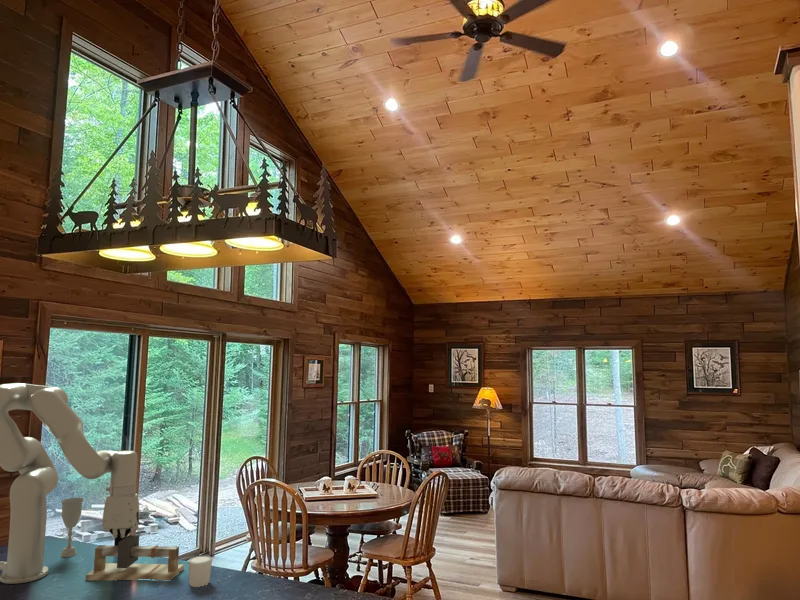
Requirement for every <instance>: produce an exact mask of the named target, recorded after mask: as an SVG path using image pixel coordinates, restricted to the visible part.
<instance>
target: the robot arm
mask: <svg viewBox="0 0 800 600" xmlns="http://www.w3.org/2000/svg"><path fill="white" fill-rule="evenodd" d="M68 401H69V397H68V394H67V392H66V391H65V390H64V389H63V388H60V387H57V386H50V385H41V384H31V383H22V382H21V383H20V382H12V383H2V384H1V383H0V467H1V469H3V470H4V471H6V472H17V471H18V473H19V474H20V475H18V477H16V478H15V480H14V481H13V482H12V484H11V486H10V490H9V503H10V504H9V505H10V506H9V507H10V518H9V519H10V520H9V531H8V544H7V545H8V547H7V558H6V559H7V560H6V561H0V571H1V572H2V573H1V574H0V582H1V583H2V584H8V585H9V584H10V585H15V584H24V583H29V582H33V581H36V580H37V581H38V580H40V579H43V578H44V577H45V576H47V575H48V573H49V567H48V566H46V565H44V560H45V559H44V558H45V545H46V544H45V543H46V529H47V516H48V515H47V513H48V509H47V496H48V494H49V495H50V493H51V492H53V491H54V490H55V489H56V487H57V485H58V483H59V474H58V472H57V469H56V467H55V465H54V463H53V462H52V459H51V458H50V456H49V455H48V453H47V450H46V449H45V447H44V445H43V444H42V443H41V442H40V441H39V440H38V439H36V438H34V437H31V436H24V435H23V434H22V432H21V431H20V429H19V427H18V425H17V424H16V422H15V421H14V419H12V417H11V416H10V414H9V411H13V410H24V411H32V413H34V415H35V416H36V417H37V418H38V419H39V421H41V422H42V424H43V425H44V426H45V427H46V428H47V430H49V432H50V433H51V434H52V436H54V437H55V439H56V440H57V443H58V445H59V446H58V447H60V449H61V452H62V453H63V455H64V457H65V459H66V460H67V461H68V462H69V463H70V465H71V466H72V467H73V468H74V469H75V471H77V473H79V475H80V476H82V477H83V478H85V479H86V480H96V479H99V478H101V477H102V476H104V475H106V474H108V473H110V485H109V486H106V488H105V491H106V492H109V495H107V496H106V499H105V502H104V506H103V513H102V524H101V525H102V528H103V531H105V532H109V533H110V534H111V535H112V537H113V538H114V546H118V542H120V541H121V540H123V539H124V538H126V537H127V536H129V535H130V533H131V532H135V531H138V530H139V523H140V502H139V501H140V500H139V495H138V493H136V492H137V473H138V472H137V471H138V453H137V452H136V451H134V450H120V451H116V450H104V449H101V450H97V451H96V450H95V449H94V448H93V447H92V445H91V444H90V443H89V441H88V440H87V439H86V435H85V433H84V425H83V421H82V419H81V418H80V417H79V415H77V414H76V412H74V410H73V409H72V408H71V407H70V405H69V404H68Z"/></svg>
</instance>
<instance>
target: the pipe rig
mask: <svg viewBox="0 0 800 600" xmlns="http://www.w3.org/2000/svg"><path fill="white" fill-rule="evenodd" d="M179 551H180V546H177V545H176V546H175V545H172V546H163V545H161V546H160V545H154V546H152V545H139V546H132V547H131V555H130V557H138V558H140V557H142V558H143V557H144V558H145V557H148V558H151V559H155V558H167V559H168V560H167V561H168V562H167V564H166V563H133V564H132V565H130V566H129V567H128V568H117V562H116V563H114V562H113V563H110V562H109V563H108V562H106V559H107V557H118V546H115V545H106V544H103V545H102V544H100V545H97V546H96V547H95V549H94V558H93V559H94V560H93V562H94V563H93V570H91V571H90V572H88V573H87V574H85V581H113V580H114V582H115V581H117V580H138V579H151V580H152V579H155V580H172V579H173V578H174V577H175V576H176V575H177V574H178V573H179V572H180V571H181V572H183V570H184V569H185V568H184V567H185V565H184V564H183V563H182V564H179V557H180V552H179ZM181 572H180V573H181ZM180 573H179V574H180ZM179 574H178V575H179ZM178 575H177V576H178ZM177 576H176V577H177ZM176 577H175V578H176ZM175 578H174V579H175ZM174 579H173V580H174ZM173 580H172V581H173Z"/></svg>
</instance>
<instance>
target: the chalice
mask: <svg viewBox="0 0 800 600" xmlns="http://www.w3.org/2000/svg"><path fill="white" fill-rule="evenodd" d="M83 502H84V498H83V497H70V498H65V499H62V500H60V503H61V507H62V508H61V518H62V522H63V523H64V526H65V528H66V529H68V532H67V536H68V537H67V540H66V541H67V546H66V547H64V548H63V549H62V551H61V554H59V556H60V557H61V558H69V557H74V556H77V554H78V552H77V550H76V547H75V546H73V545H72V540H73V539H74V538H72V536H73V534H74V533H73V528H76V527H77V524H78V522H79V520H80V518H81V516H82V505H83Z"/></svg>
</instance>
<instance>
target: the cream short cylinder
mask: <svg viewBox="0 0 800 600" xmlns="http://www.w3.org/2000/svg"><path fill="white" fill-rule="evenodd" d="M212 563H213V557H212V556H210V555H197V556H193V557H191V558H189V559H188V577H189V581H188V582H189V586H191V587H192V588H201V587H200V586H202V587H205V586H207V585H209V584H208V583H210V581H211V580H210V578H211V572H212ZM204 585H205V586H204Z"/></svg>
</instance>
